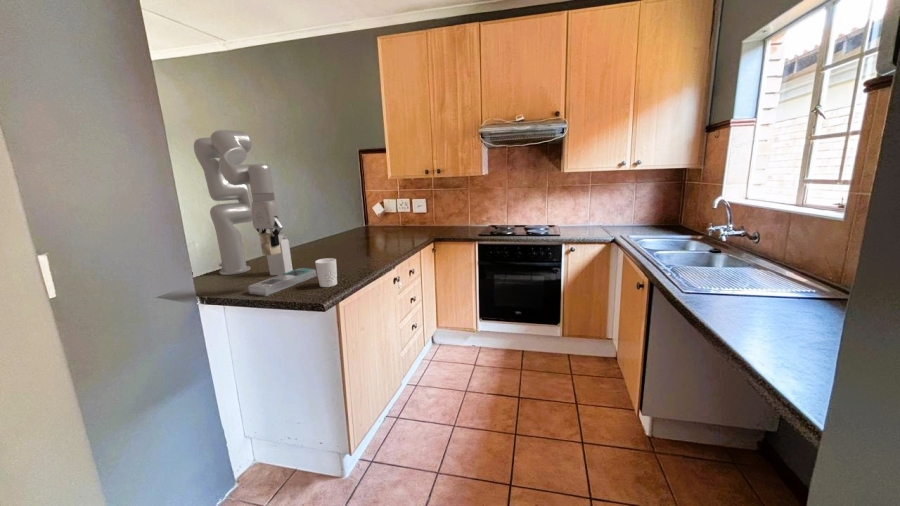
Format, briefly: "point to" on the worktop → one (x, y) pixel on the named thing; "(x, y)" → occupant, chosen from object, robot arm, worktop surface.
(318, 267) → the white cup
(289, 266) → the milk carton
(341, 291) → the worktop surface
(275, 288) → the white flat bar
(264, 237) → the maple block
